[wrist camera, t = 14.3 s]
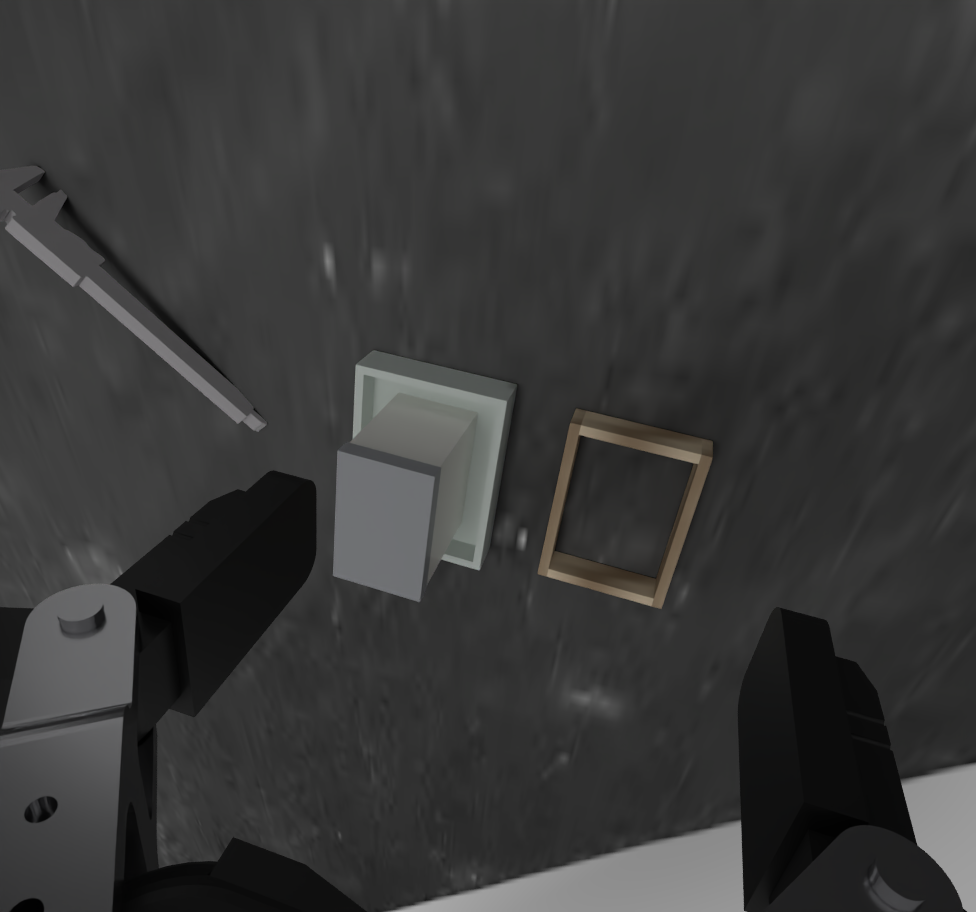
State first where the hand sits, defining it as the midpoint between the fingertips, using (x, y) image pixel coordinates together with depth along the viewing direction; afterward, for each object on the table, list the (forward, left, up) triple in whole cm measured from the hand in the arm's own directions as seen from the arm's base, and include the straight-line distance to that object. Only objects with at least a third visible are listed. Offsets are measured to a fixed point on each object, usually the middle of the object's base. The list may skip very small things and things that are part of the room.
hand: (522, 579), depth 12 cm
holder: (-2, +15, -28) cm, 32 cm away
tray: (+10, +15, -28) cm, 33 cm away
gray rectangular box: (+10, +15, -27) cm, 32 cm away
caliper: (+29, +9, -28) cm, 42 cm away
